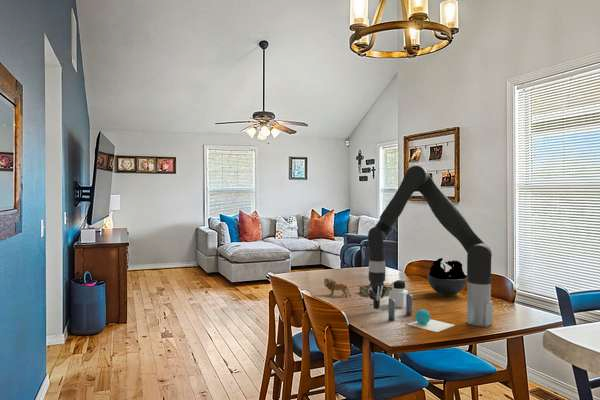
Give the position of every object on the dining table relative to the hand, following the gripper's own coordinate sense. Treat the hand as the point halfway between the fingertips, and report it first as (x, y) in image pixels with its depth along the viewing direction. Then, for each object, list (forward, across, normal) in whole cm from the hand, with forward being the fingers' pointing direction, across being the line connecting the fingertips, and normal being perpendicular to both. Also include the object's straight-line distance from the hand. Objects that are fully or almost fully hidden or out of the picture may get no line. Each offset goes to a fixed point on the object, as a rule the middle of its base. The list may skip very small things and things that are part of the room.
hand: (376, 308), depth 213 cm
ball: (-1, -1, -25) cm, 25 cm away
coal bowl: (+2, +55, -4) cm, 55 cm away
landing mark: (+2, 0, -28) cm, 28 cm away
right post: (+2, +6, -13) cm, 15 cm away
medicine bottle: (+2, +17, 0) cm, 17 cm away
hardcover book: (+2, +33, +22) cm, 39 cm away
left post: (+2, -7, -13) cm, 15 cm away
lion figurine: (+2, +10, +34) cm, 35 cm away
